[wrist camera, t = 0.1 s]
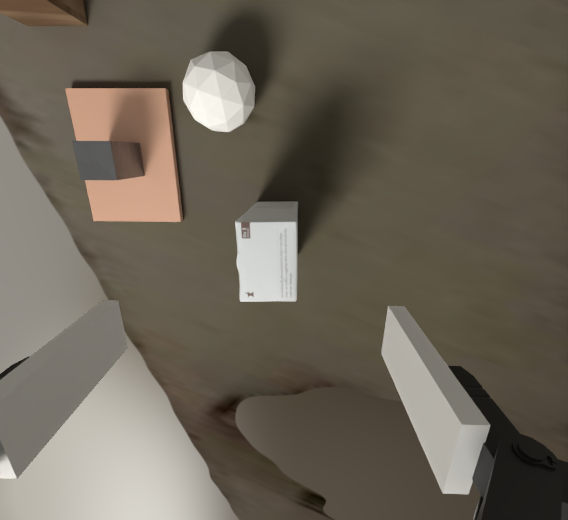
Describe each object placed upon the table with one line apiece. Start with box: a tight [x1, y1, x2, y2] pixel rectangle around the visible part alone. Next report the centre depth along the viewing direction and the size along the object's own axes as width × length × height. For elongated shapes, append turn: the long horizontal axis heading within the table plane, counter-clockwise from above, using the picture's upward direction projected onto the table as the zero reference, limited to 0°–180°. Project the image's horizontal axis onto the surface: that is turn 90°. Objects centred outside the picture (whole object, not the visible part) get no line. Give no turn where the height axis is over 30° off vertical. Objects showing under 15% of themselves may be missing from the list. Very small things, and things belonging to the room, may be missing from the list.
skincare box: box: [235, 201, 298, 302], centre depth 35 cm, size 8×6×15 cm
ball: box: [183, 51, 255, 132], centre depth 33 cm, size 8×8×8 cm
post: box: [72, 141, 145, 180], centre depth 35 cm, size 4×4×6 cm
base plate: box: [65, 88, 183, 222], centre depth 39 cm, size 16×12×1 cm
